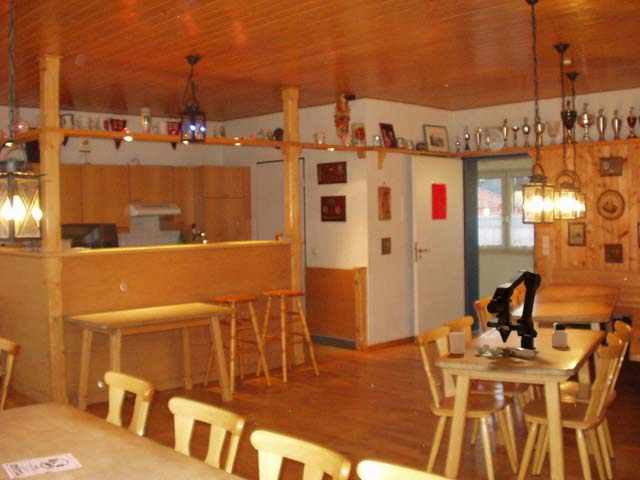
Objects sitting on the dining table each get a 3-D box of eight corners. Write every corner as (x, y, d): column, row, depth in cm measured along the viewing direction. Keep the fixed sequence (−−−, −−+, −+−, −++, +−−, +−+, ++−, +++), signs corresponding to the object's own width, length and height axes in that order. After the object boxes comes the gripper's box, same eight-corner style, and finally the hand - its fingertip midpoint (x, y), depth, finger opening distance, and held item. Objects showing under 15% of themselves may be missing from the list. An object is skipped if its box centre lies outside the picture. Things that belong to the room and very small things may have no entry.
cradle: (485, 352, 385) (485, 344, 385) (503, 356, 375) (503, 347, 375) (474, 354, 381) (474, 346, 381) (492, 358, 371) (492, 349, 371)
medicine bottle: (567, 345, 399) (567, 322, 399) (565, 347, 393) (565, 324, 393) (553, 344, 402) (553, 321, 402) (551, 346, 396) (551, 323, 396)
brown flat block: (506, 352, 385) (505, 345, 385) (519, 354, 378) (519, 347, 378) (494, 354, 380) (494, 347, 380) (508, 356, 373) (507, 349, 373)
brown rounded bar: (504, 355, 377) (504, 346, 377) (510, 354, 380) (510, 345, 380) (528, 360, 365) (528, 350, 365) (534, 358, 368) (534, 349, 368)
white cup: (465, 354, 382) (465, 334, 382) (449, 354, 384) (449, 334, 383) (465, 351, 390) (465, 332, 389) (450, 351, 391) (449, 331, 391)
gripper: (478, 311, 382) (479, 342, 383) (507, 315, 367) (507, 347, 368) (494, 309, 389) (494, 339, 389) (522, 312, 373) (523, 344, 374)
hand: (504, 342), depth 380 cm, fingers closed
